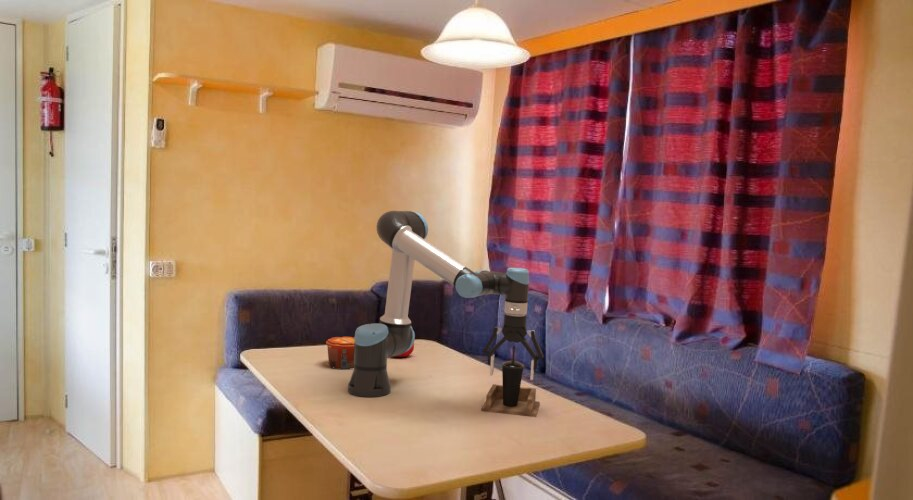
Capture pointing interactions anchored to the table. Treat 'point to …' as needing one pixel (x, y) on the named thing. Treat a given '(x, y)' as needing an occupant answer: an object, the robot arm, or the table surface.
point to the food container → (341, 352)
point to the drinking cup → (511, 381)
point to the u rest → (524, 407)
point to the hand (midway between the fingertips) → (511, 376)
